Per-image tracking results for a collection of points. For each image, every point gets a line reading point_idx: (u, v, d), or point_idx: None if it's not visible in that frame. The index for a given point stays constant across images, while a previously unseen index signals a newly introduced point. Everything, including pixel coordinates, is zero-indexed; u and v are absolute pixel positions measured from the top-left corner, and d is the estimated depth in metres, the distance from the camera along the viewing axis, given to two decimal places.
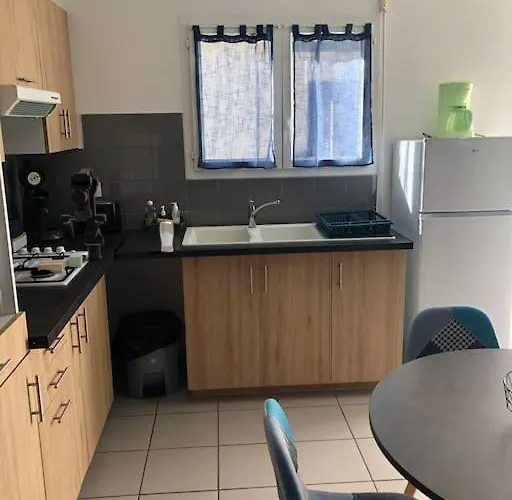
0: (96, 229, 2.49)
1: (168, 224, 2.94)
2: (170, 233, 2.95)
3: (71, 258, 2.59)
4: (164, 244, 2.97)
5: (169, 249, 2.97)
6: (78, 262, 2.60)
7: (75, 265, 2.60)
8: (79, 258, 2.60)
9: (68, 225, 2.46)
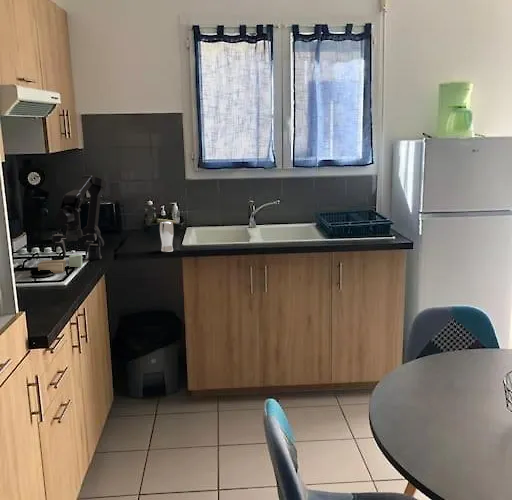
0: (87, 248, 2.61)
1: (168, 224, 2.94)
2: (170, 233, 2.95)
3: (71, 258, 2.59)
4: (164, 244, 2.97)
5: (169, 249, 2.97)
6: (78, 262, 2.60)
7: (75, 265, 2.60)
8: (79, 258, 2.60)
9: (60, 244, 2.58)
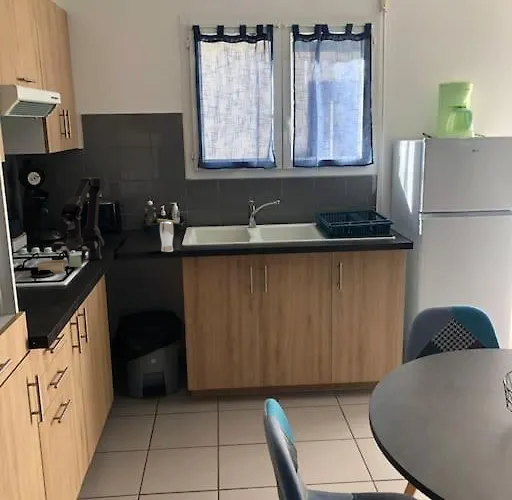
0: (83, 256, 2.61)
1: (168, 224, 2.94)
2: (170, 233, 2.95)
3: (71, 258, 2.59)
4: (164, 244, 2.97)
5: (169, 249, 2.97)
6: (78, 262, 2.60)
7: (75, 265, 2.60)
8: (79, 258, 2.60)
9: (65, 252, 2.58)
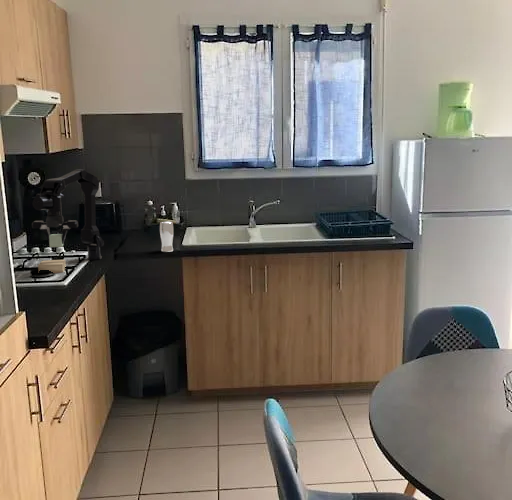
0: (63, 235, 2.53)
1: (168, 224, 2.94)
2: (170, 233, 2.95)
3: (51, 237, 2.51)
4: (164, 244, 2.97)
5: (169, 249, 2.97)
6: (59, 241, 2.51)
7: (55, 244, 2.51)
8: (60, 237, 2.51)
9: (45, 231, 2.50)
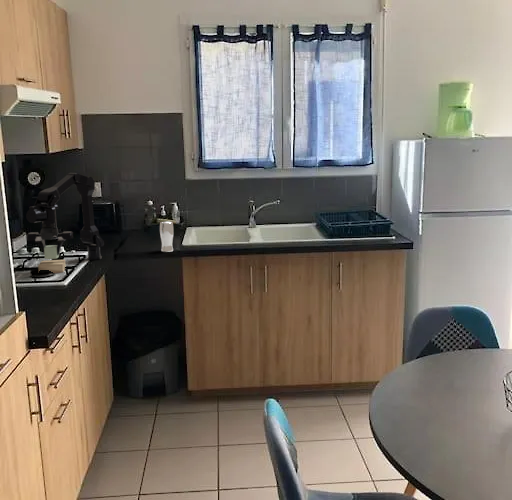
0: (58, 246, 2.52)
1: (168, 224, 2.94)
2: (170, 233, 2.95)
3: (46, 249, 2.50)
4: (164, 244, 2.97)
5: (169, 249, 2.97)
6: (54, 253, 2.51)
7: (50, 256, 2.51)
8: (55, 249, 2.50)
9: (40, 243, 2.49)
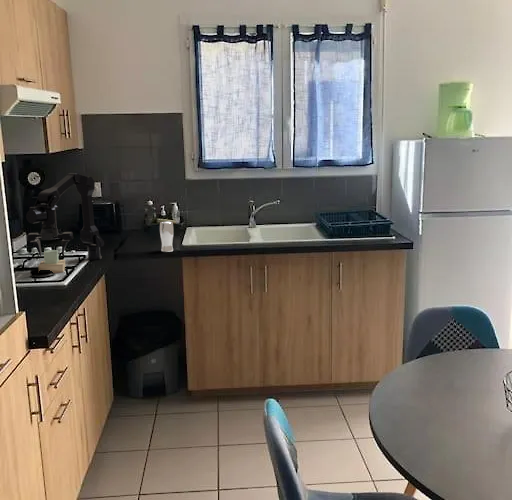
0: (63, 247, 2.52)
1: (168, 224, 2.94)
2: (170, 233, 2.95)
3: (46, 254, 2.50)
4: (164, 244, 2.97)
5: (169, 249, 2.97)
6: (53, 258, 2.51)
7: (50, 261, 2.51)
8: (54, 254, 2.51)
9: (35, 243, 2.49)
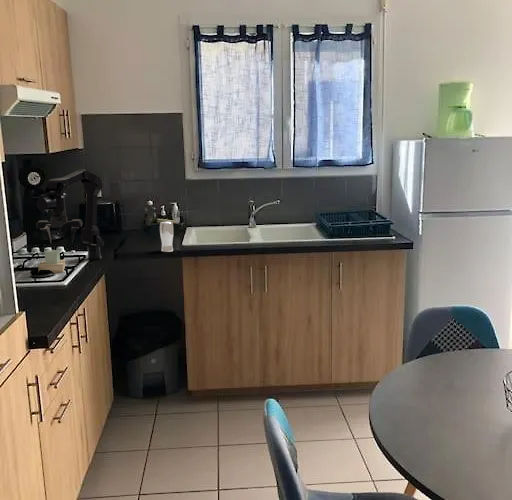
0: (72, 234, 2.56)
1: (168, 224, 2.94)
2: (170, 233, 2.95)
3: (47, 253, 2.50)
4: (164, 244, 2.97)
5: (169, 249, 2.97)
6: (54, 258, 2.51)
7: (51, 261, 2.51)
8: (55, 253, 2.51)
9: (45, 231, 2.53)
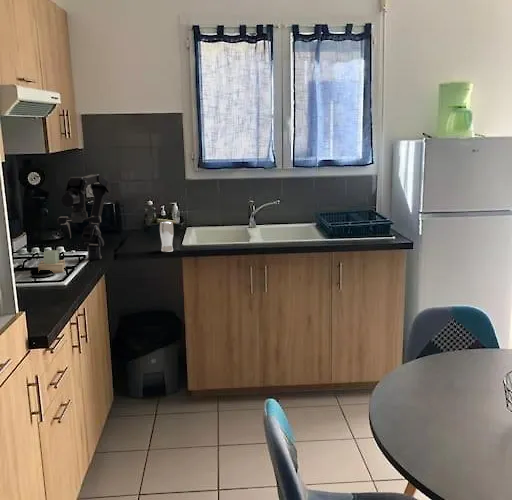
0: (92, 230, 2.64)
1: (168, 224, 2.94)
2: (170, 233, 2.95)
3: (46, 253, 2.50)
4: (164, 244, 2.97)
5: (169, 249, 2.97)
6: (53, 258, 2.51)
7: (50, 261, 2.51)
8: (54, 254, 2.51)
9: (65, 226, 2.61)
